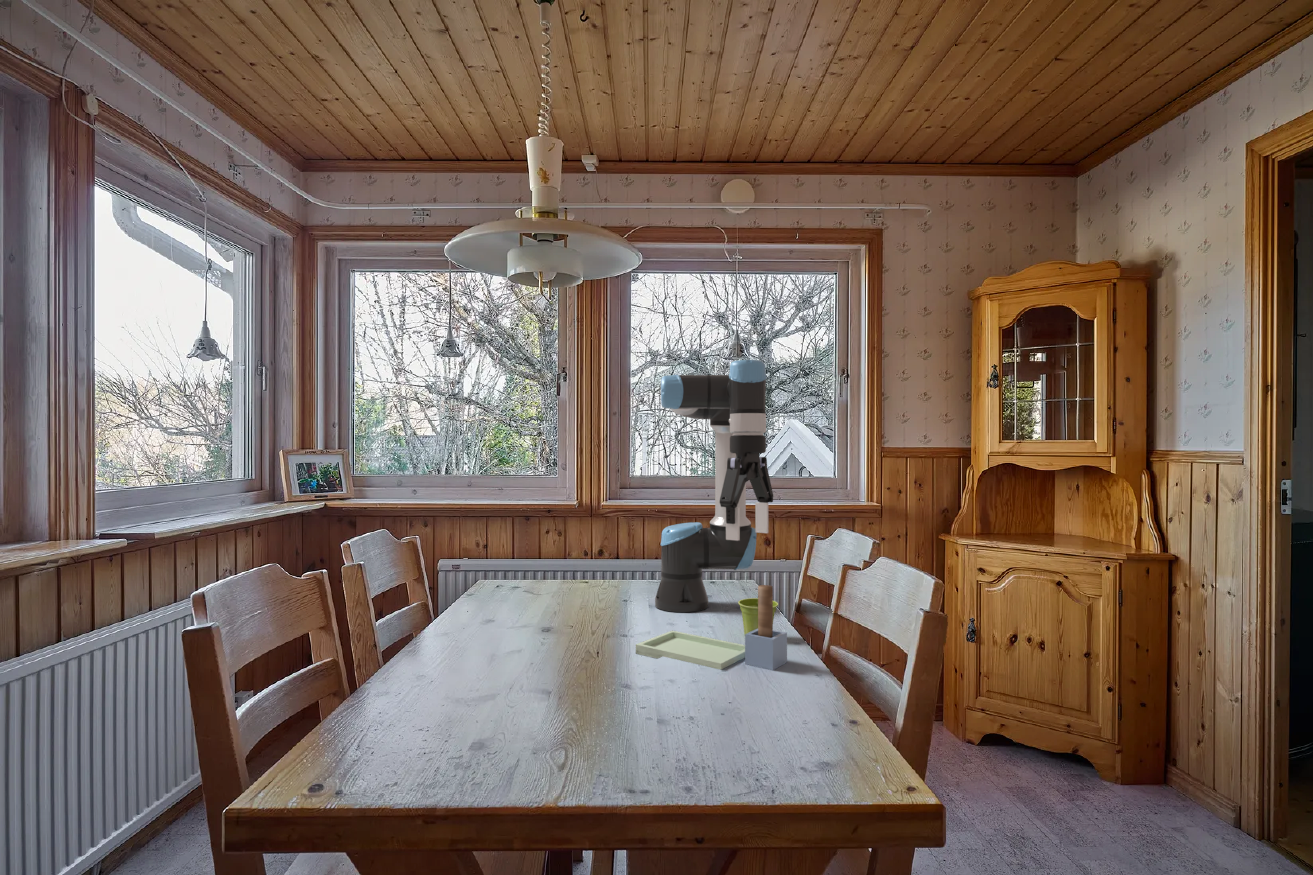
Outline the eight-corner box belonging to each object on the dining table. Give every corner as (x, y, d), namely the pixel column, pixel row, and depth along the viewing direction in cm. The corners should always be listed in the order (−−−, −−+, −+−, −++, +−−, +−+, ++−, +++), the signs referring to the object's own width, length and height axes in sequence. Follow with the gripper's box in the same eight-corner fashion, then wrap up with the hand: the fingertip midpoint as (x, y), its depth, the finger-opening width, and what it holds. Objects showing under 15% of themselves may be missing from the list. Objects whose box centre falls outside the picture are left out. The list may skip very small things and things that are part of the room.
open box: (759, 660, 149) (759, 627, 149) (787, 665, 145) (787, 632, 145) (745, 667, 144) (745, 634, 144) (772, 674, 140) (772, 639, 140)
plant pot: (776, 634, 169) (776, 598, 169) (779, 645, 160) (779, 607, 160) (737, 633, 170) (737, 597, 170) (738, 644, 160) (738, 606, 160)
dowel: (762, 660, 146) (762, 584, 146) (775, 662, 145) (775, 586, 145) (755, 663, 144) (755, 586, 144) (768, 666, 142) (768, 588, 142)
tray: (672, 638, 165) (672, 630, 165) (754, 655, 152) (754, 646, 152) (635, 653, 154) (635, 644, 154) (720, 673, 140) (720, 663, 141)
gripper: (757, 435, 157) (757, 528, 157) (702, 433, 137) (702, 541, 137) (788, 434, 153) (788, 531, 153) (736, 433, 133) (736, 544, 132)
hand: (747, 536), depth 145 cm, fingers open, 13 cm apart
